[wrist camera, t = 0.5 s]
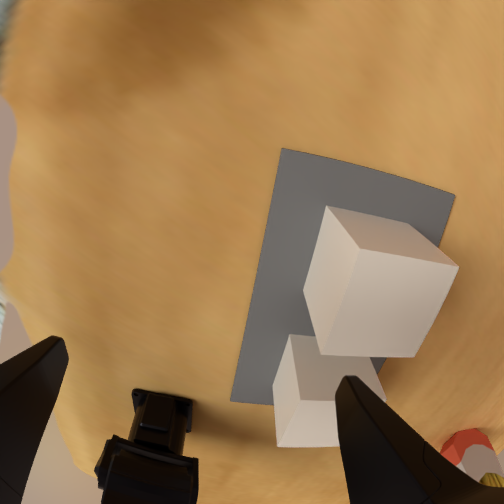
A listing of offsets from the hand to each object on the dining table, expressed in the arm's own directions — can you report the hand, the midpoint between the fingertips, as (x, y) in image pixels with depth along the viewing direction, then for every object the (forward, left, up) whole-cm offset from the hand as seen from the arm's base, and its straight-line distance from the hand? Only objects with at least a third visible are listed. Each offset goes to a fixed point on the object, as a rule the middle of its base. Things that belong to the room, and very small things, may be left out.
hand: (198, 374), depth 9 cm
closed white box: (-1, -10, -13) cm, 17 cm away
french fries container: (-32, -45, -14) cm, 56 cm away
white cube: (-12, -10, -13) cm, 20 cm away
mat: (-7, -10, -14) cm, 18 cm away
